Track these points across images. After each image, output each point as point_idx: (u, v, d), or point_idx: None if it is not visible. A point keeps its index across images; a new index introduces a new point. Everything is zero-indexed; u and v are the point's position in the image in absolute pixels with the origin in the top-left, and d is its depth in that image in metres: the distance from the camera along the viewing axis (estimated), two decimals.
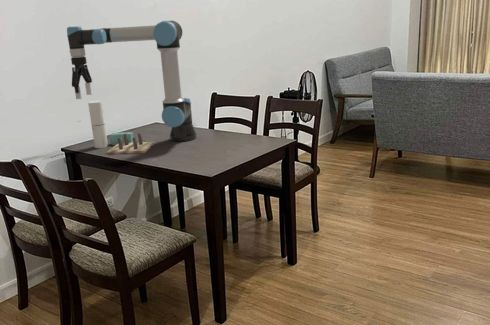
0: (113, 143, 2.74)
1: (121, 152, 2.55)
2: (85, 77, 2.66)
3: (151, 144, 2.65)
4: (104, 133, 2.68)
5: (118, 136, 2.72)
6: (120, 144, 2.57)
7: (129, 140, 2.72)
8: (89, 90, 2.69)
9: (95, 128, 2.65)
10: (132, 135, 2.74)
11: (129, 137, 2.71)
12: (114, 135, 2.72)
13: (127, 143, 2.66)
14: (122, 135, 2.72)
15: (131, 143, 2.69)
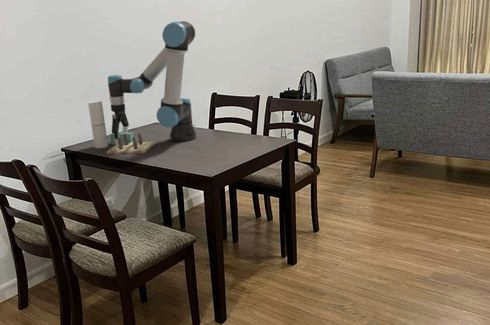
0: (113, 143, 2.74)
1: (121, 152, 2.55)
2: (123, 122, 2.77)
3: (151, 144, 2.65)
4: (104, 133, 2.68)
5: None
6: (120, 144, 2.57)
7: (129, 140, 2.72)
8: None
9: (95, 128, 2.65)
10: (132, 135, 2.73)
11: (129, 137, 2.71)
12: None
13: (127, 143, 2.66)
14: (122, 135, 2.72)
15: (131, 143, 2.69)
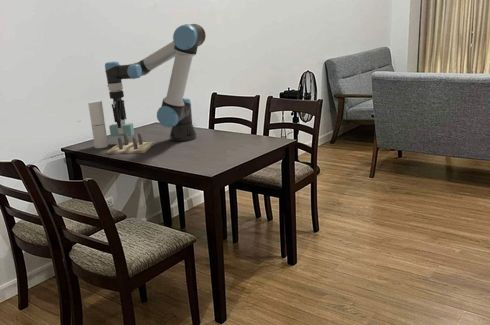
0: (113, 134, 2.72)
1: (121, 152, 2.55)
2: (121, 112, 2.72)
3: (151, 144, 2.65)
4: (104, 133, 2.68)
5: None
6: (120, 144, 2.57)
7: (129, 131, 2.70)
8: None
9: (95, 128, 2.65)
10: (132, 126, 2.72)
11: (129, 128, 2.70)
12: (113, 126, 2.71)
13: (127, 143, 2.66)
14: None
15: (131, 143, 2.69)
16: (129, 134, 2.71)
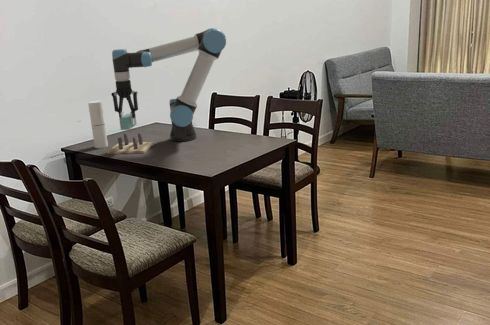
0: None
1: (121, 152, 2.55)
2: None
3: (151, 144, 2.65)
4: (104, 133, 2.68)
5: None
6: (120, 144, 2.57)
7: None
8: None
9: (95, 128, 2.65)
10: (124, 121, 2.53)
11: None
12: None
13: (127, 143, 2.66)
14: None
15: (131, 143, 2.69)
16: None
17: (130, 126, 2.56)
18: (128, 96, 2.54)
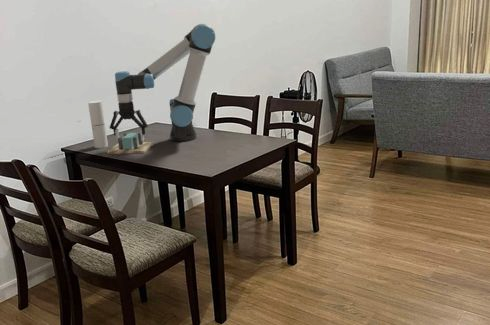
0: None
1: (121, 152, 2.55)
2: None
3: (151, 144, 2.65)
4: (104, 133, 2.68)
5: None
6: (120, 144, 2.57)
7: None
8: None
9: (95, 128, 2.65)
10: (127, 140, 2.56)
11: None
12: None
13: None
14: None
15: None
16: None
17: (132, 145, 2.59)
18: (132, 116, 2.57)
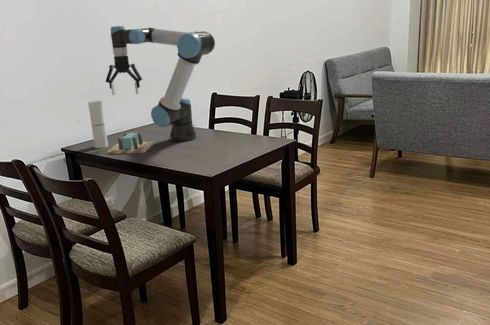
0: None
1: (121, 152, 2.55)
2: None
3: (151, 144, 2.65)
4: (104, 133, 2.68)
5: None
6: (120, 144, 2.57)
7: None
8: None
9: (95, 128, 2.65)
10: (127, 140, 2.56)
11: None
12: None
13: None
14: None
15: None
16: None
17: (132, 145, 2.59)
18: (127, 69, 2.68)
